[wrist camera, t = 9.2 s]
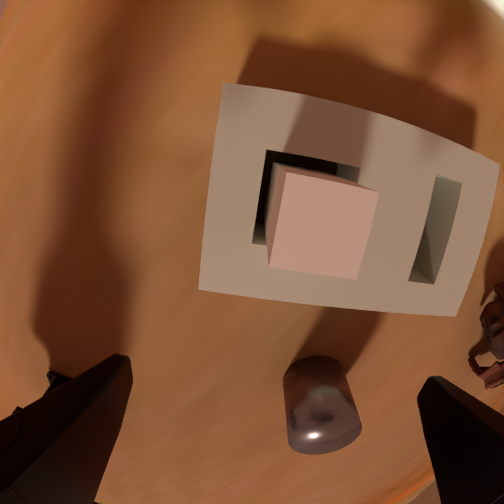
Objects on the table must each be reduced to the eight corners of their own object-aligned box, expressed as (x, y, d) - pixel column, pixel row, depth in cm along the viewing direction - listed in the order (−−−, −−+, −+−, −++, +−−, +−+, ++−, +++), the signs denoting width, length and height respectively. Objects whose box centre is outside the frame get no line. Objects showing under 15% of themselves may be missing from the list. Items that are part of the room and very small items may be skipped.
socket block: (209, 260, 19) (198, 289, 15) (231, 97, 15) (223, 82, 11) (428, 289, 19) (455, 316, 15) (463, 158, 16) (499, 164, 12)
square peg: (263, 214, 18) (268, 267, 10) (272, 161, 16) (286, 172, 9) (315, 223, 18) (356, 279, 10) (326, 172, 17) (379, 192, 9)
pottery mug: (534, 282, 20) (559, 349, 14) (473, 326, 26) (491, 390, 21) (509, 252, 15) (550, 350, 10) (425, 315, 22) (447, 405, 17)
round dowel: (277, 396, 23) (281, 454, 17) (290, 353, 21) (298, 414, 15) (332, 399, 23) (346, 452, 17) (351, 357, 21) (373, 413, 16)
